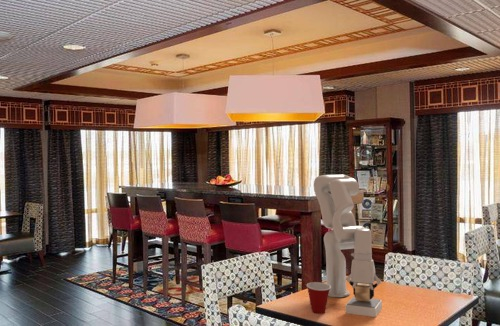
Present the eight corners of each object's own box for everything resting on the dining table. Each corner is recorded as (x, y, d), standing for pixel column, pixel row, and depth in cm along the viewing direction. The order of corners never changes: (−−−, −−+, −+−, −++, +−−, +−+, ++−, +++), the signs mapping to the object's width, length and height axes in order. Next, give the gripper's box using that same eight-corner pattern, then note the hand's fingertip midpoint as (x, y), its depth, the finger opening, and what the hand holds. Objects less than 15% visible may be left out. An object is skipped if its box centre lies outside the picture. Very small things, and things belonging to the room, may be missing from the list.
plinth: (345, 313, 210) (345, 304, 210) (353, 304, 222) (353, 296, 222) (375, 317, 204) (375, 307, 204) (381, 308, 216) (381, 299, 216)
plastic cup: (325, 317, 205) (325, 289, 205) (302, 313, 210) (302, 286, 210) (335, 310, 214) (334, 283, 214) (313, 306, 220) (312, 280, 220)
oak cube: (355, 300, 211) (355, 286, 211) (358, 296, 217) (358, 283, 217) (369, 301, 209) (368, 287, 209) (372, 297, 214) (371, 284, 214)
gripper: (341, 256, 213) (342, 297, 213) (381, 259, 205) (381, 302, 206) (346, 253, 220) (346, 293, 220) (384, 256, 212) (385, 297, 212)
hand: (363, 297), depth 213 cm, fingers closed on oak cube, 6 cm apart
